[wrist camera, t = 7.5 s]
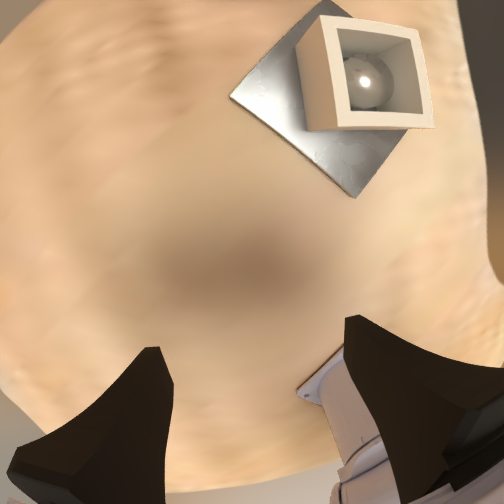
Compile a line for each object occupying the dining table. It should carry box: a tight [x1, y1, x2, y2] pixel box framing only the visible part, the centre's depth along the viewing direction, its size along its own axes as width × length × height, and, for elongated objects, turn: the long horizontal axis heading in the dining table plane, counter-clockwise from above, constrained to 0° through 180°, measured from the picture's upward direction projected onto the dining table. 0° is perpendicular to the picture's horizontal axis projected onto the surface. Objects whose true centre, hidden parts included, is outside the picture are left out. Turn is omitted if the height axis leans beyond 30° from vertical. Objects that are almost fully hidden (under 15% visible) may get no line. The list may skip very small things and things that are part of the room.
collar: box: [295, 15, 435, 132], centre depth 13 cm, size 6×6×5 cm
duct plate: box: [230, 0, 408, 199], centre depth 14 cm, size 10×10×4 cm
